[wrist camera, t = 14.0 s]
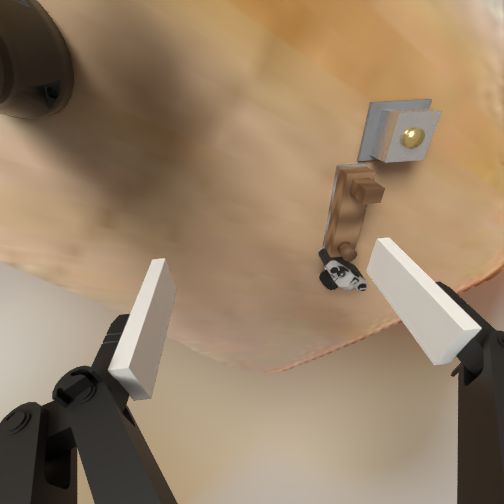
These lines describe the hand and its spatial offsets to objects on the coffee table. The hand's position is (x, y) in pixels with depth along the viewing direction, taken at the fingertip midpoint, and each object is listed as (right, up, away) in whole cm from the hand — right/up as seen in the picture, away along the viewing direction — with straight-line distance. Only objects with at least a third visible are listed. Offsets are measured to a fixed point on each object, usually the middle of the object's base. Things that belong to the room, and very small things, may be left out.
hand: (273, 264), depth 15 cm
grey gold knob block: (+23, +21, +25) cm, 40 cm away
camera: (+19, -2, +43) cm, 47 cm away
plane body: (+17, +10, +34) cm, 39 cm away
